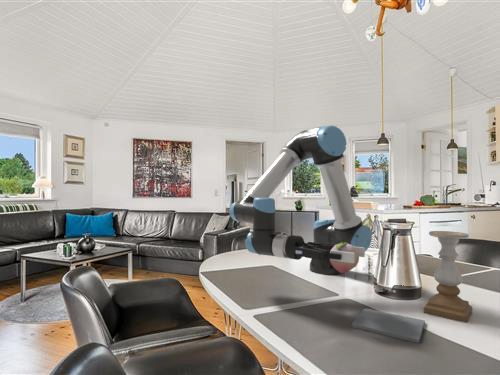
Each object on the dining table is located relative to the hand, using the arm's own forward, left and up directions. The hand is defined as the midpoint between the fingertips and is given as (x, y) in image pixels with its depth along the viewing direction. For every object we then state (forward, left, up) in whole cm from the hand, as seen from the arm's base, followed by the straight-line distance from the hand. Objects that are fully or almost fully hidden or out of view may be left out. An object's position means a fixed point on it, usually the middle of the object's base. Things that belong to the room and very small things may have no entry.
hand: (359, 255), depth 92 cm
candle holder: (+21, +20, -18) cm, 34 cm away
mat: (+8, 0, -18) cm, 20 cm away
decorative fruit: (-4, 0, -6) cm, 8 cm away
